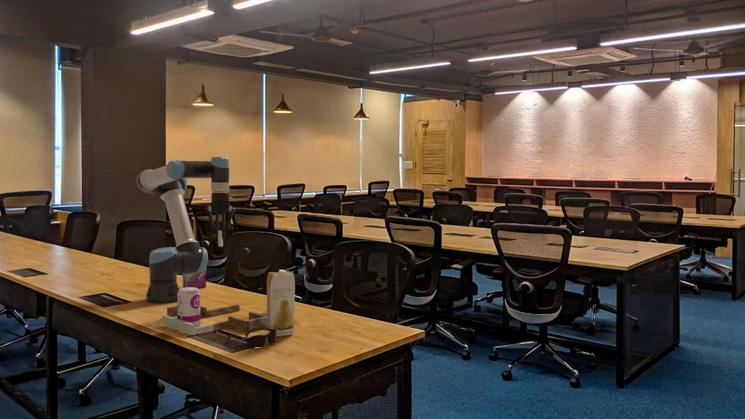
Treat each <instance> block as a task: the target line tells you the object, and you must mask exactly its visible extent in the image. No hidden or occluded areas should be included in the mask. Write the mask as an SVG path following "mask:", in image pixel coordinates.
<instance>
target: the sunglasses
mask: <svg viewBox="0 0 745 419" xmlns="http://www.w3.org/2000/svg"><path fill="white" fill-rule="evenodd" d="M255 329H258V330H261V331H267V332H268V331H271V332H270V333H269V332H268V334H256V335H255V334H254V335H251V336H249V334H251V333H252V332H254V331H256V330H255ZM253 330H254V331H253ZM244 336H245V337H241V336H237V335H232V334H231V335H229V337H228V339H227V341H228V340H229V341H230V340H231V338H233V339H237V340H240V341H245V342H247V343H248V346H249V347H250V348H251V349H253V348H255V347H262V348H263V347H264V346H265V345H266V341H267V342H268V343H269V344H270V345H273V344H272V343H274V342H275V343H276V340H277V337H276V329H269V328H253V329H251V330H250V331H248V332H245V334H244ZM248 336H249V337H248ZM247 337H248V338H247ZM275 343H274V344H275Z"/></svg>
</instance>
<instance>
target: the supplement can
mask: <svg viewBox="0 0 745 419" xmlns="http://www.w3.org/2000/svg"><path fill="white" fill-rule="evenodd" d="M176 303H177V305H176V306H177V307H178V319H179V320H182V321H185V322H189V323H192V324H195V327H200V326H201V318H200V306H201V291H200V290H199V288H196V287H185V288H183V287H181V288H179V291H178V293H177V301H176Z"/></svg>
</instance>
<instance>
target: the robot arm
mask: <svg viewBox="0 0 745 419" xmlns="http://www.w3.org/2000/svg"><path fill="white" fill-rule="evenodd" d="M210 159H211V160H179V159H178V160H170V161H168V163H167V164H166V165H165V166H161V167H158V168H155V169H151V168H150V169H145V170H143V171H141V172H139V173H138V174H137V176H136V185H137V187H138V188H139V190H141V191H142V192H144V193H146V194H151V195H156V194H157V195H158V194H159V197H160V200H162V201H164V203H165V207H166V209H167V214H168V218H169V221H170V225H171V229H172V232H173V237H174V240H175V244H176V245H175V247H174V246H168V247H160V248H156V249H153V250H151V252H150V253H149V260H148V263H149V264H148V265H149V268H148V269H149V285H148V288H147V291H146V293H145V301H146V302H148V303H152V304H153V303H156V304H163V303H164V304H165V303H172V302H177V293H178V291H179V289H180V288H179V285H178V280H177V278H178V276H179V275H180V276H181V275H182V274H190V273H197V272H202V271H203V270H204V269H205V268H206V269H207V266H208V261H209V256H208V255H209V253H208V251H207V249H206V248H205V247H203V246H202V247H201V245H200V242H199V241H198V240H195V236H194V233H193V229H192V226H191V221H190V218H189V214H188V211H187V206H186V203H185V200H184V196H185V194H186V193H185V192H186V191H187V188H188V185H187V184H188V181H187V179H211V180H210V181H211V182H210V184H211V186H210V187H211V193H210V194H211V199H210V201H211V203H210V204H209V206H208V207H206V208H205V209H204V210H205V212H206V213H207V216H208V220H209V225H210V228H211V230H212V231H215V239H217V240H218V241H217V243H218V244H217V246H218V247H223V246H224V240H225V238H226V231H228V230H230V228H231V223H232V219H233V215H234V212H235V211H236V208H235V207H232V206H231V203H230V162H229V161H230V160H229V158H228V157H227V156H212V157H211V158H210ZM228 210H229V214H228V218H227V221H226V213H227V211H228ZM212 211H213V212H214V215H215V222H214V218H213V214H212V213H213V212H212ZM220 214H221V230H220ZM223 239H224V240H223Z"/></svg>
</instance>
